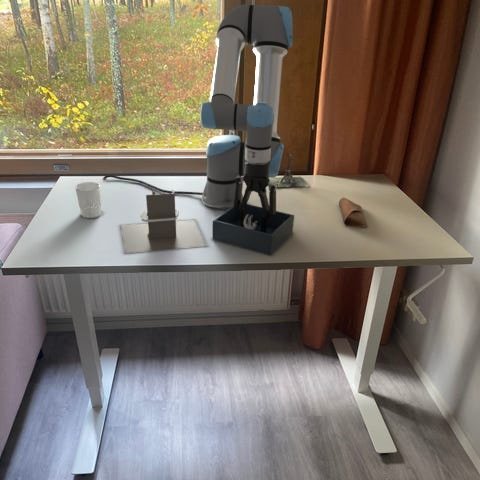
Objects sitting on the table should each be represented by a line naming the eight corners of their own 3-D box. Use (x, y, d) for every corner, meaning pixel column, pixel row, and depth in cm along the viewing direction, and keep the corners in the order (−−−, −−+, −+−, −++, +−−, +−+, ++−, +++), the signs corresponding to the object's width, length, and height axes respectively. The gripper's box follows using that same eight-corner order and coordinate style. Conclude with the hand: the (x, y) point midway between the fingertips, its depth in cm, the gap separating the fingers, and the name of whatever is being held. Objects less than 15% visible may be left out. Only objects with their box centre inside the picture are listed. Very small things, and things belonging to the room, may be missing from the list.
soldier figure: (263, 228, 169) (265, 233, 158) (253, 238, 170) (254, 243, 159) (248, 210, 167) (249, 214, 156) (237, 220, 168) (237, 225, 157)
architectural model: (120, 225, 168) (115, 183, 159) (194, 219, 174) (193, 178, 165) (125, 253, 152) (120, 207, 144) (206, 246, 158) (206, 201, 150)
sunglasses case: (368, 226, 173) (361, 210, 170) (349, 235, 175) (342, 219, 172) (360, 205, 188) (354, 190, 184) (343, 214, 190) (336, 199, 187)
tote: (212, 239, 162) (212, 220, 158) (237, 219, 175) (238, 201, 171) (270, 255, 155) (272, 235, 151) (292, 233, 168) (294, 215, 164)
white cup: (107, 212, 176) (104, 184, 170) (93, 220, 170) (89, 192, 164) (89, 207, 179) (85, 180, 173) (74, 215, 173) (70, 187, 167)
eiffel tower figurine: (300, 177, 211) (304, 145, 203) (309, 186, 203) (313, 153, 195) (266, 179, 208) (268, 146, 200) (273, 188, 200) (276, 154, 192)
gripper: (223, 158, 151) (221, 229, 165) (282, 170, 144) (275, 243, 158) (234, 152, 157) (232, 220, 170) (292, 163, 150) (285, 234, 163)
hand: (253, 231), depth 164 cm, fingers closed on soldier figure, 6 cm apart
